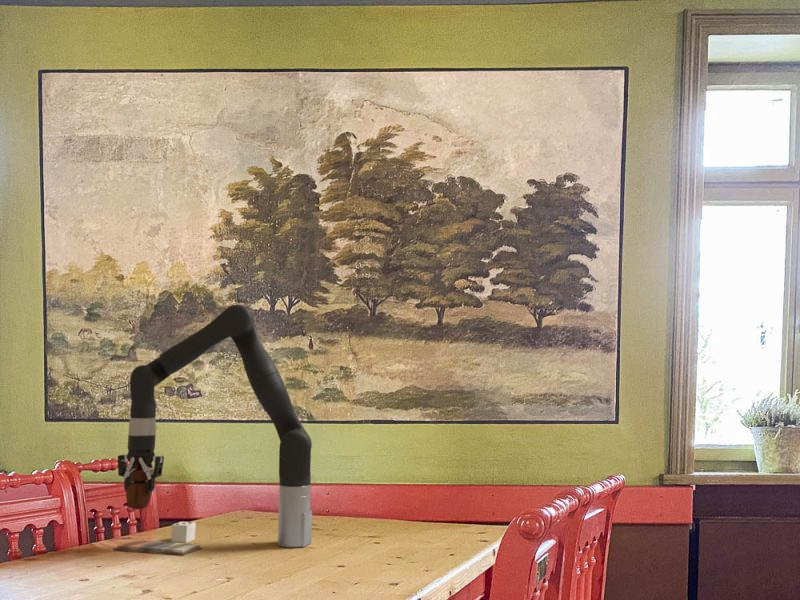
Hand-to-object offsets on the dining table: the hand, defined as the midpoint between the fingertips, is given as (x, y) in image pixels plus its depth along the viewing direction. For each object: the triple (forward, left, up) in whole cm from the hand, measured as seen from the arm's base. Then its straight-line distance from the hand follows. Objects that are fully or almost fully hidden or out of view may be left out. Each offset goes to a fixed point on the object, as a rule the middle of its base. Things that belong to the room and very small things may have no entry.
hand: (139, 491), depth 198 cm
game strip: (-7, 0, -16) cm, 17 cm away
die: (-8, -12, -16) cm, 21 cm away
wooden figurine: (0, 0, -5) cm, 5 cm away
